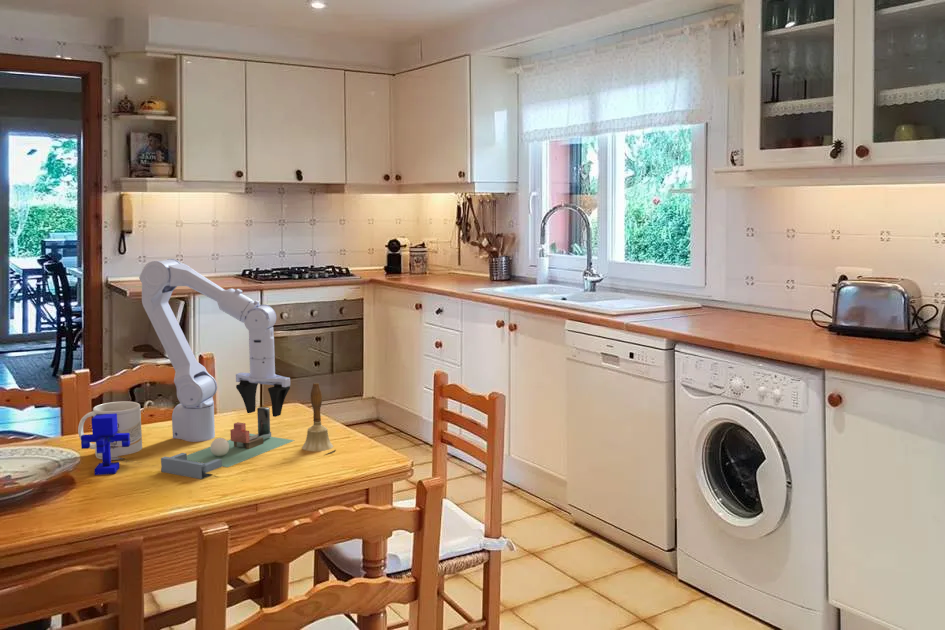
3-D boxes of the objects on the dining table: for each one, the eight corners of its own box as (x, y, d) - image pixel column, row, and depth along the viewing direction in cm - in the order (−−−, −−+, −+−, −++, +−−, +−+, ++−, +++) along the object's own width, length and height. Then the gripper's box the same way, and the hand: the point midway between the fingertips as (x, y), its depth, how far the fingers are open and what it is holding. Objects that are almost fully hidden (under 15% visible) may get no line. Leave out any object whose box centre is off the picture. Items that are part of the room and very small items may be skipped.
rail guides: (234, 446, 193) (233, 440, 192) (248, 441, 197) (248, 435, 197) (249, 449, 191) (248, 443, 191) (263, 443, 195) (263, 437, 195)
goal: (161, 471, 177) (161, 458, 177) (182, 463, 183) (182, 450, 182) (201, 479, 173) (201, 465, 172) (222, 470, 178) (221, 457, 178)
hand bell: (328, 457, 188) (327, 387, 186) (293, 454, 190) (292, 385, 188) (341, 447, 196) (340, 380, 194) (307, 445, 198) (306, 378, 196)
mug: (110, 463, 183) (108, 414, 181) (77, 455, 189) (74, 407, 188) (151, 452, 192) (149, 404, 190) (118, 444, 198) (116, 398, 196)
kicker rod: (230, 446, 192) (229, 415, 191) (261, 435, 201) (260, 406, 200) (245, 449, 190) (244, 418, 189) (275, 437, 199) (274, 407, 198)
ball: (206, 457, 185) (206, 439, 184) (219, 452, 188) (218, 435, 188) (220, 459, 183) (220, 441, 182) (233, 454, 186) (232, 437, 186)
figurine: (133, 470, 178) (131, 415, 177) (100, 479, 172) (97, 422, 171) (113, 463, 183) (110, 409, 181) (80, 472, 177) (77, 416, 175)
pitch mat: (177, 462, 184) (177, 458, 183) (248, 437, 204) (247, 433, 204) (227, 471, 178) (227, 467, 178) (294, 444, 198) (294, 440, 198)
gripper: (226, 357, 196) (228, 414, 198) (276, 362, 190) (277, 421, 191) (246, 353, 202) (248, 408, 204) (295, 357, 196) (296, 414, 198)
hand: (263, 414), depth 198 cm, fingers open, 7 cm apart
